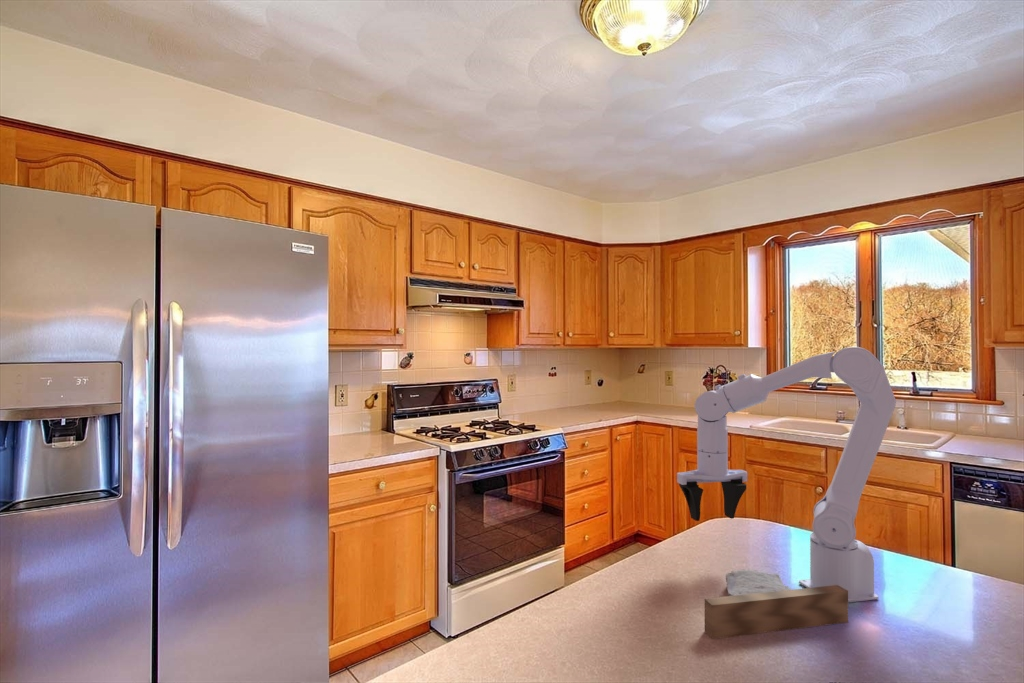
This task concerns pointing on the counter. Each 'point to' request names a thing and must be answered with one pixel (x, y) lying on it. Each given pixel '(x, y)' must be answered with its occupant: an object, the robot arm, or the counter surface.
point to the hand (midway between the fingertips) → (712, 518)
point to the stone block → (753, 582)
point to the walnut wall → (775, 611)
